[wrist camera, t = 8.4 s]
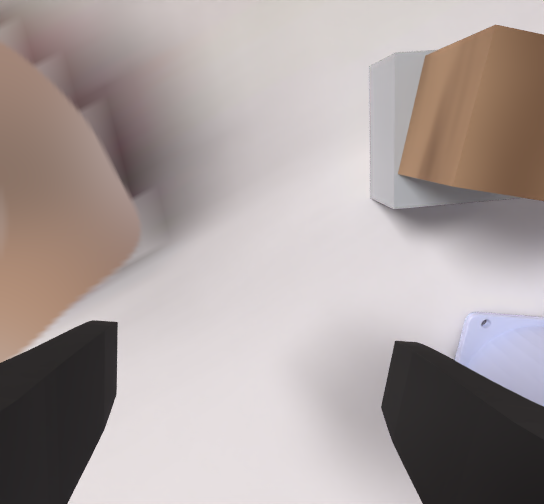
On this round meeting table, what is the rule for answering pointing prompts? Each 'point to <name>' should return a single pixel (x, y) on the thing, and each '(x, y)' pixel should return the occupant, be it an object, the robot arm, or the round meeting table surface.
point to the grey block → (403, 138)
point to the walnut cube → (481, 115)
